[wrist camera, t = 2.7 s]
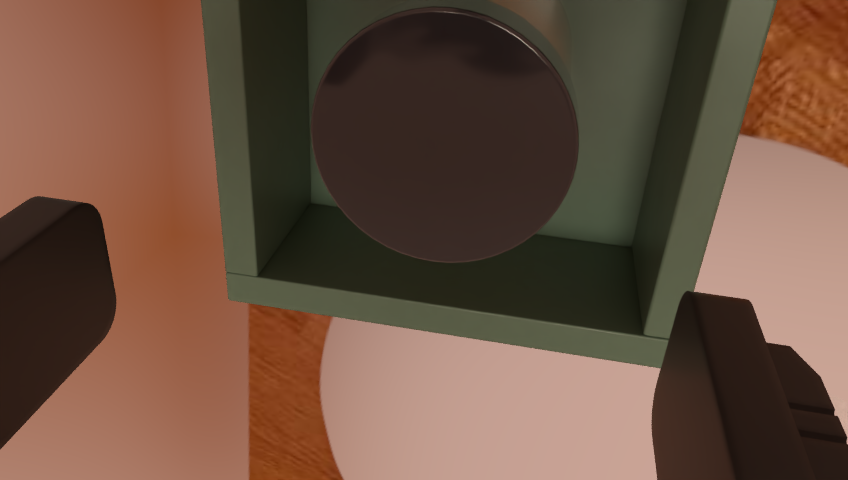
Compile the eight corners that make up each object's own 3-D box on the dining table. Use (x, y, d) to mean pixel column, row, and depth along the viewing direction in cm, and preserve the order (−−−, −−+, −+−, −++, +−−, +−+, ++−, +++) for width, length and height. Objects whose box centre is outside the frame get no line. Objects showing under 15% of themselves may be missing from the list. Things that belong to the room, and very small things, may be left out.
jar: (396, -60, 21) (306, -6, 14) (594, -42, 20) (602, 22, 13) (389, 125, 24) (311, 245, 17) (563, 146, 23) (556, 280, 16)
